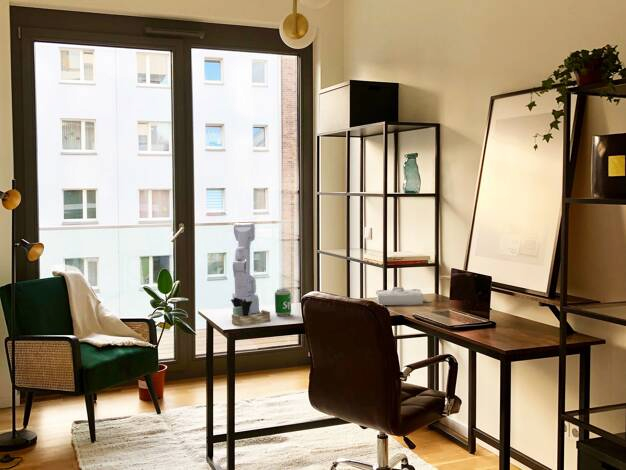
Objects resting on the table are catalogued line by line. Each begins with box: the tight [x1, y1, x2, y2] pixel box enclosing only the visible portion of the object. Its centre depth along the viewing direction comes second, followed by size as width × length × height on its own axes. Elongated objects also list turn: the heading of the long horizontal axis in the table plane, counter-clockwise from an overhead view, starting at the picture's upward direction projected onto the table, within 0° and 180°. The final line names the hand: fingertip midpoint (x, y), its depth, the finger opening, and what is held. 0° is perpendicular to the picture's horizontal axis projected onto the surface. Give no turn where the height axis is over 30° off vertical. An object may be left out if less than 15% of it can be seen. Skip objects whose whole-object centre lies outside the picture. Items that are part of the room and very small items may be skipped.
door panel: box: [232, 306, 252, 317], centre depth 331 cm, size 8×3×6 cm, turn 123°
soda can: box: [274, 288, 292, 317], centre depth 338 cm, size 8×8×12 cm
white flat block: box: [375, 286, 432, 306], centre depth 362 cm, size 19×28×8 cm
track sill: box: [231, 309, 271, 327], centre depth 324 cm, size 16×6×4 cm, turn 123°
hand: (242, 314), depth 331 cm, fingers open, 7 cm apart
